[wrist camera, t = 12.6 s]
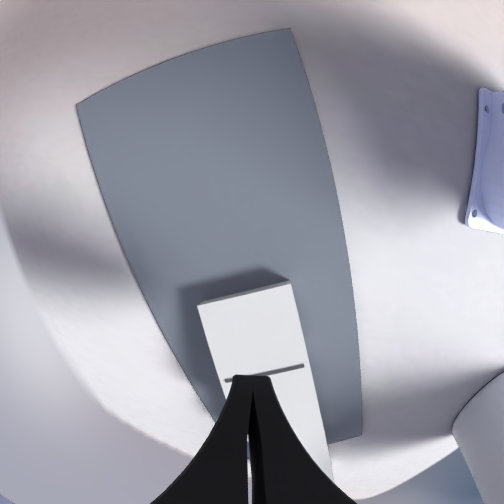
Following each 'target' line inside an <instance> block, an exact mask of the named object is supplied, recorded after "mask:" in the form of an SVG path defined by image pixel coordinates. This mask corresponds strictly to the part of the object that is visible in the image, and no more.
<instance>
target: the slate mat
mask: <svg viewBox="0 0 504 504" xmlns="http://www.w3.org/2000/svg"><path fill="white" fill-rule="evenodd" d="M76 106H77V110H78V114H79V118H80V122H81V126H82V130H83V133H84V137H85V140H86V144H87V147H88V151H89V154H90V158H91V161H92V164H93V167H94V170H95V174H96V177H97V180H98V183H99V186H100V189H101V192H102V194H103V197H104V200H105V203H106V206H107V208H108V211H109V214H110V216H111V219H112V222H113V224H114V227H115V229H116V232H117V235H118V237H119V239H120V242H121V244H122V247H123V249H124V252H125V254H126V256H127V259H128V261H129V263H130V266H131V268H132V270H133V272H134V275H135V277H136V279H137V281H138V283H139V286H140V288H141V290H142V292H143V294H144V296H145V298H146V300H147V302H148V305H149V307H150V309H151V311H152V313H153V315H154V317H155V319H156V321H157V323H158V324H159V326H160V328H161V330H162V332H163V334H164V336H165V338H166V340H167V342H168V343H169V345H170V347H171V349H172V351H173V353H174V354H175V356H176V358H177V360H178V361H179V363H180V365H181V367H182V368H183V370H184V372H185V374H186V375H187V377H188V379H189V380H190V382H191V384H192V385H193V387H194V389H195V390H196V392H197V394H198V395H199V397H200V398H201V400H202V402H203V403H204V405H205V406H206V408H207V409H208V411H209V412H210V414H211V415H212V417H213V419H214V420H215V422H216V421H217V420H218V418H219V416H220V413H221V411H222V409H223V407H224V404H225V402H226V398H225V395H224V392H223V389H222V386H221V383H220V380H219V377H218V374H217V371H216V368H215V364H214V361H213V358H212V355H211V352H210V348H209V345H208V342H207V338H206V335H205V332H204V328H203V325H202V321H201V318H200V314H199V311H198V307H197V305H199V304H200V303H202V302H203V301H205V300H209V299H213V298H218V297H222V296H227V295H231V294H235V293H239V292H243V291H248V290H252V289H256V288H260V287H264V286H268V285H272V284H276V283H280V282H284V281H288V280H290V282H291V286H292V290H293V295H294V299H295V303H296V307H297V311H298V315H299V320H300V324H301V328H302V332H303V337H304V341H305V345H306V350H307V354H308V359H309V363H310V368H311V372H312V377H313V381H314V386H315V390H316V395H317V400H318V404H319V409H320V414H321V418H322V422H323V426H324V431H325V436H326V441H327V444H331V443H335V442H339V441H342V440H346V439H349V438H353V437H356V436H360V435H362V395H361V373H360V357H359V344H358V332H357V322H356V312H355V303H354V295H353V287H352V279H351V272H350V265H349V258H348V252H347V246H346V240H345V234H344V228H343V222H342V217H341V212H340V206H339V201H338V196H337V192H336V187H335V182H334V177H333V173H332V169H331V164H330V160H329V156H328V152H327V147H326V143H325V139H324V135H323V132H322V128H321V124H320V120H319V117H318V113H317V110H316V106H315V103H314V99H313V96H312V92H311V89H310V86H309V82H308V79H307V76H306V73H305V70H304V67H303V64H302V61H301V58H300V55H299V52H298V49H297V46H296V43H295V40H294V38H293V35H292V32H291V29H290V28H287V29H281V30H275V31H270V32H265V33H260V34H256V35H251V36H247V37H243V38H239V39H235V40H231V41H227V42H223V43H220V44H216V45H213V46H210V47H206V48H203V49H200V50H197V51H194V52H191V53H188V54H185V55H182V56H180V57H177V58H174V59H171V60H169V61H166V62H164V63H161V64H159V65H156V66H154V67H151V68H149V69H147V70H144V71H142V72H140V73H137V74H135V75H133V76H131V77H129V78H127V79H124V80H122V81H120V82H118V83H116V84H114V85H112V86H110V87H108V88H106V89H104V90H102V91H101V92H99V93H97V94H95V95H93V96H91V97H90V98H88V99H86V100H84V101H82V102H81V103H79V104H77V105H76ZM248 458H250V452H249V441H248V442H247V459H248Z"/></svg>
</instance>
